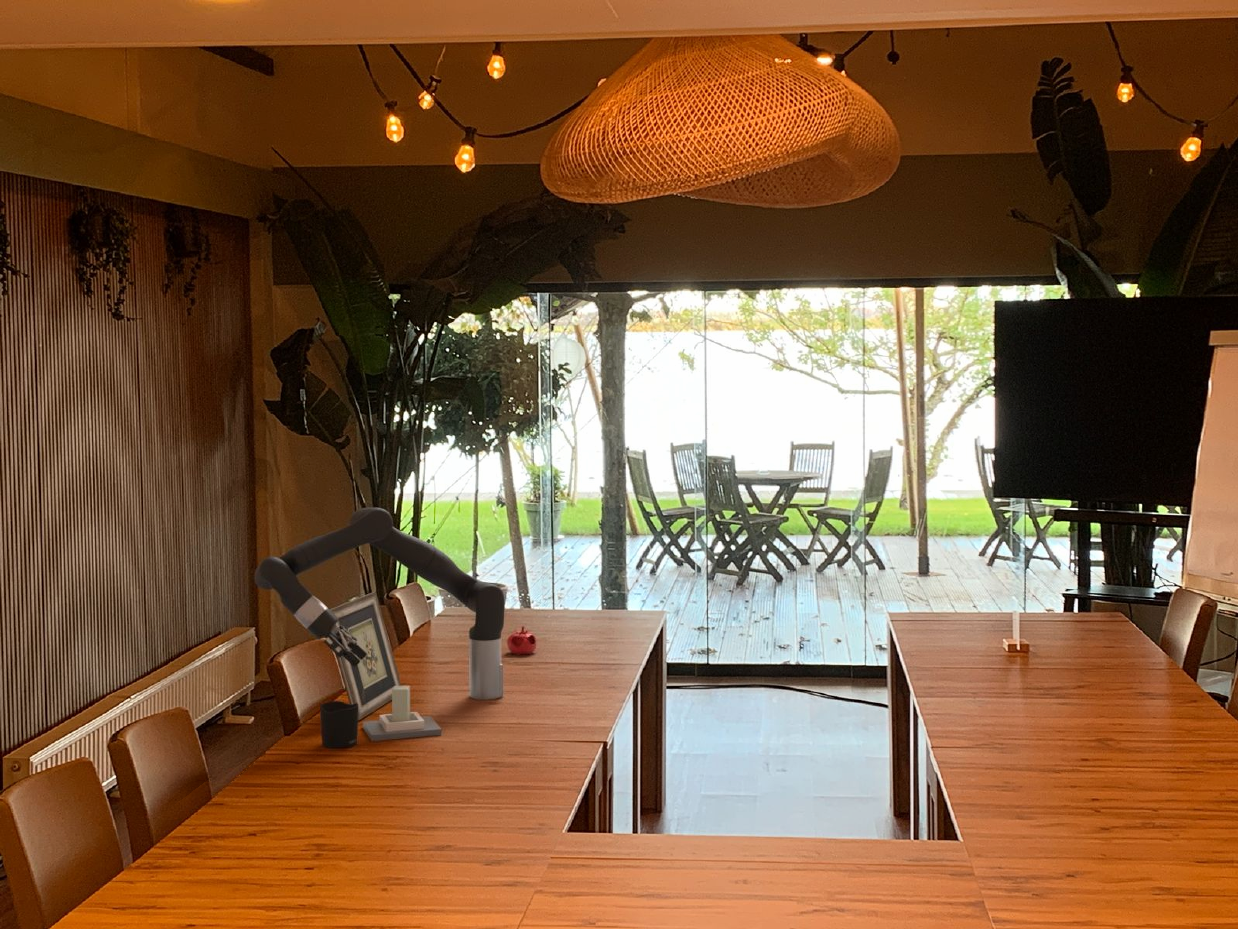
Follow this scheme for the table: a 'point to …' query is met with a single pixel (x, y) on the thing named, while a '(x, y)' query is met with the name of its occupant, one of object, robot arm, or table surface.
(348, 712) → the pen holder
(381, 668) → the picture frame
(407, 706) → the sage block
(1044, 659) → the table surface
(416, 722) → the grey base with frame
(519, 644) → the pomegranate
